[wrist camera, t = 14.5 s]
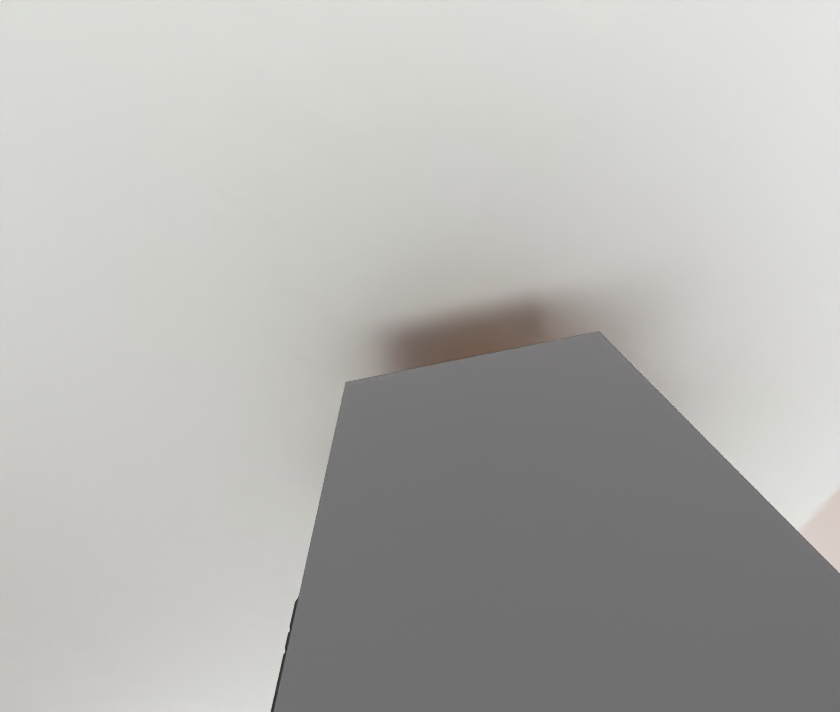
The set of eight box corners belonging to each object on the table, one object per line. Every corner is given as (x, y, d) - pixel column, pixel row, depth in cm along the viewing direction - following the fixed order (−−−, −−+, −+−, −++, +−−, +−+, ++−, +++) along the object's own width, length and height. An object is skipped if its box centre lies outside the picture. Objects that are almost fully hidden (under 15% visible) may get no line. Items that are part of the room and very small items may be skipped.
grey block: (401, 555, 15) (402, 1010, 7) (345, 382, 12) (245, 838, 4) (604, 518, 15) (837, 959, 7) (598, 331, 12) (995, 729, 4)
